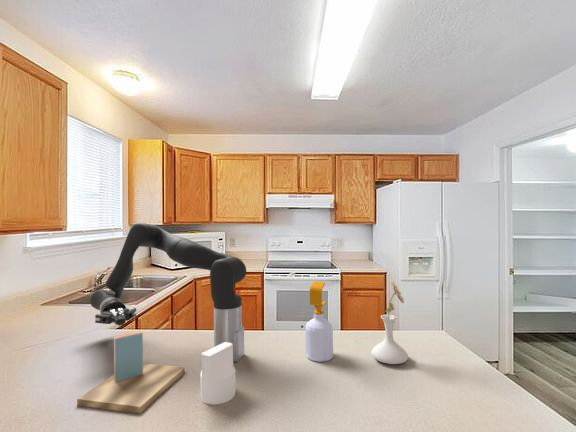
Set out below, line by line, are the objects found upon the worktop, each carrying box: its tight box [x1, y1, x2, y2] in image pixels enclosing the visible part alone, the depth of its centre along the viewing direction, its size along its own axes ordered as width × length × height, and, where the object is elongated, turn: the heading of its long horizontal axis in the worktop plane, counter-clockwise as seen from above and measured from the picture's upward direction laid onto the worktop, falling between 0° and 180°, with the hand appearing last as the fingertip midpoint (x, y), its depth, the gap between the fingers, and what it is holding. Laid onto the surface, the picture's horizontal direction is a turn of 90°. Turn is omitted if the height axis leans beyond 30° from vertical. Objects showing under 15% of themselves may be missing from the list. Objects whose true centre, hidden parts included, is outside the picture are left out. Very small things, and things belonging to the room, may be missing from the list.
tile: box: [113, 330, 144, 382], centre depth 87 cm, size 2×7×12 cm, turn 128°
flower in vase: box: [371, 280, 409, 365], centre depth 99 cm, size 13×11×25 cm
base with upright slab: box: [199, 342, 237, 405], centre depth 80 cm, size 9×9×12 cm
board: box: [76, 362, 186, 414], centre depth 84 cm, size 18×20×2 cm
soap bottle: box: [305, 281, 334, 363], centre depth 102 cm, size 9×9×25 cm
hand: (121, 322), depth 97 cm, fingers closed
